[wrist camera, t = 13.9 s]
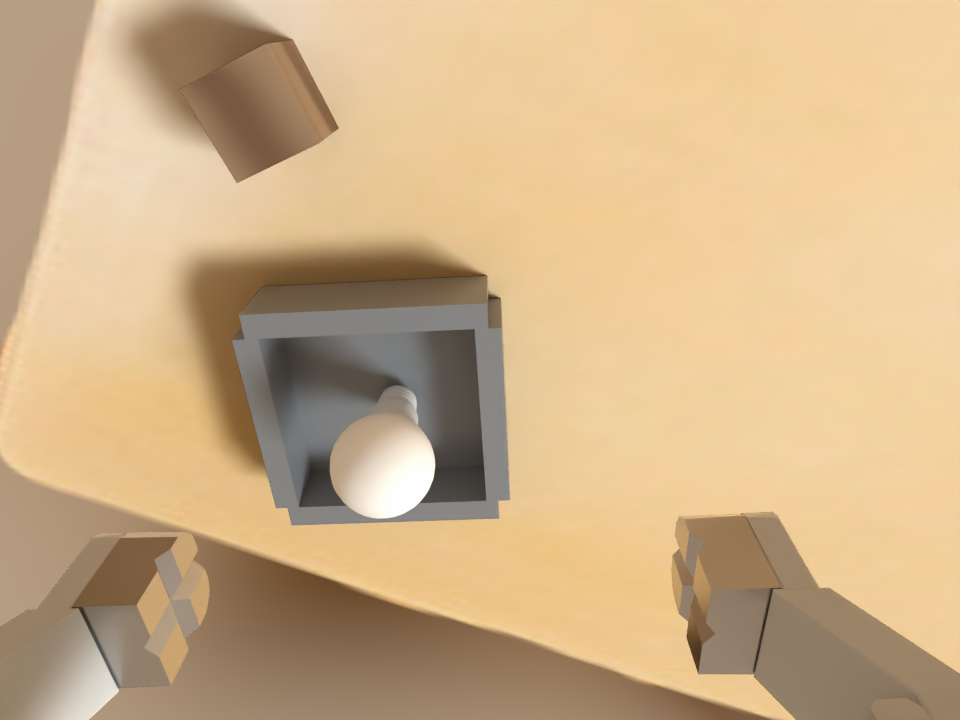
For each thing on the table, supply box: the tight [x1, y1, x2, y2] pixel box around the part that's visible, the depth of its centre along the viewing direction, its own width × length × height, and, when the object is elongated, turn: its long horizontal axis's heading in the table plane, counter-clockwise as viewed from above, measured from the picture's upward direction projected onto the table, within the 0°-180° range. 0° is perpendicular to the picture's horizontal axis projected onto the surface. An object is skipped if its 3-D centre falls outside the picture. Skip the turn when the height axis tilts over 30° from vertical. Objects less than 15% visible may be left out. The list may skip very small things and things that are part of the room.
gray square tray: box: [232, 276, 510, 525], centre depth 44 cm, size 16×16×4 cm
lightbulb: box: [330, 385, 435, 519], centre depth 40 cm, size 6×6×11 cm
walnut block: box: [180, 40, 338, 183], centre depth 35 cm, size 5×5×5 cm
